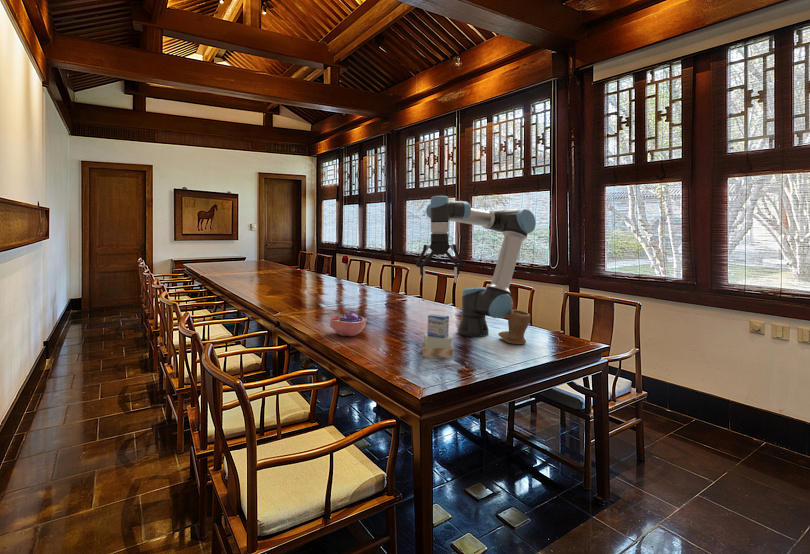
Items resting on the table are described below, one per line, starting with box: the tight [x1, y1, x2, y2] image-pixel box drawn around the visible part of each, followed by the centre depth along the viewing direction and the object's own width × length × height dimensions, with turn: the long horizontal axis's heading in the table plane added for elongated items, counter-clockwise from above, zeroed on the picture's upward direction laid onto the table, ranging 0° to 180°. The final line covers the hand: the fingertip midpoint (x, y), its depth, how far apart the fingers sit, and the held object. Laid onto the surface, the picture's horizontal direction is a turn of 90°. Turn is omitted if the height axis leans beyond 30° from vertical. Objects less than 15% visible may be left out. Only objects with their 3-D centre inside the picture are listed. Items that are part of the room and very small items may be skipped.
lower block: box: [421, 341, 454, 359], centre depth 188 cm, size 12×12×4 cm
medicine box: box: [426, 314, 450, 338], centre depth 187 cm, size 8×4×9 cm, turn 62°
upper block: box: [423, 332, 452, 348], centre depth 188 cm, size 10×10×4 cm
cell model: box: [329, 312, 368, 337], centre depth 219 cm, size 17×20×11 cm
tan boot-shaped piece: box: [498, 309, 531, 345], centre depth 209 cm, size 15×12×15 cm
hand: (439, 282), depth 193 cm, fingers open, 13 cm apart
